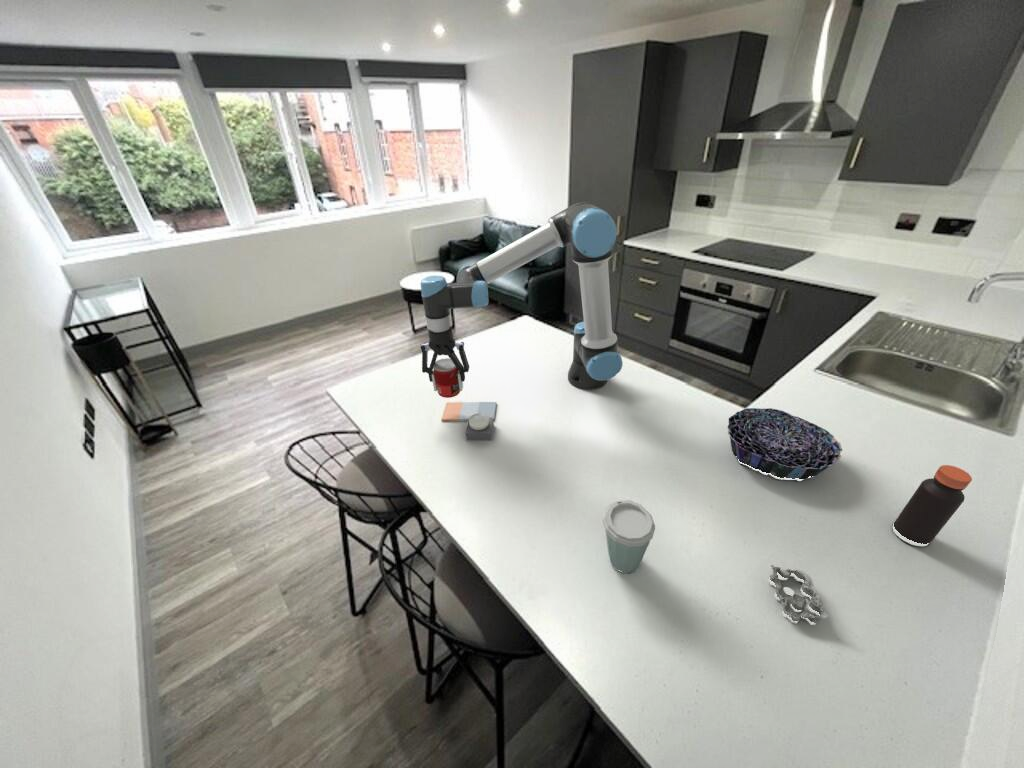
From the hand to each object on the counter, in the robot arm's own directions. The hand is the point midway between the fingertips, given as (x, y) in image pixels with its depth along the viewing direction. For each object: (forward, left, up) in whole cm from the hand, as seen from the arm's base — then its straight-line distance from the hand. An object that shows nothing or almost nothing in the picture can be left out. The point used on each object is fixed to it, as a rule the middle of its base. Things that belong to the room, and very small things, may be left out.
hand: (448, 388), depth 139 cm
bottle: (-116, +49, -10) cm, 126 cm away
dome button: (-11, +11, -9) cm, 18 cm away
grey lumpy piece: (-82, +65, -10) cm, 105 cm away
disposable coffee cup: (-49, +57, -10) cm, 76 cm away
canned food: (0, 0, -1) cm, 1 cm away
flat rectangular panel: (-6, 0, -10) cm, 12 cm away
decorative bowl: (-98, +22, -10) cm, 101 cm away
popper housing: (-11, +11, -10) cm, 19 cm away
